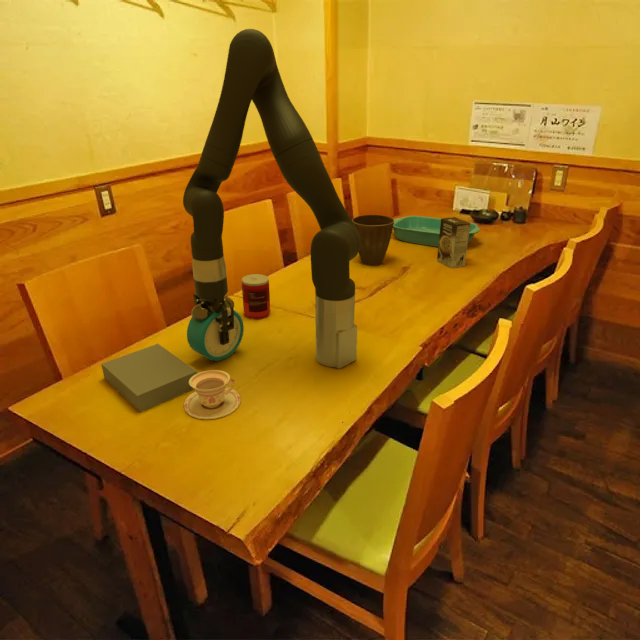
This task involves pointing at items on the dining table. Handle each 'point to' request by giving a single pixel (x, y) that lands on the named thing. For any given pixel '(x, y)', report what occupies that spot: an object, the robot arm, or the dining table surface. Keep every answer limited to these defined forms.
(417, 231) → the casserole dish
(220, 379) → the teacup
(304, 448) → the dining table surface
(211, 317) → the alarm clock
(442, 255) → the coffee box
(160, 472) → the dining table surface
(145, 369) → the plinth
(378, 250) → the plant pot
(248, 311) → the canned food
